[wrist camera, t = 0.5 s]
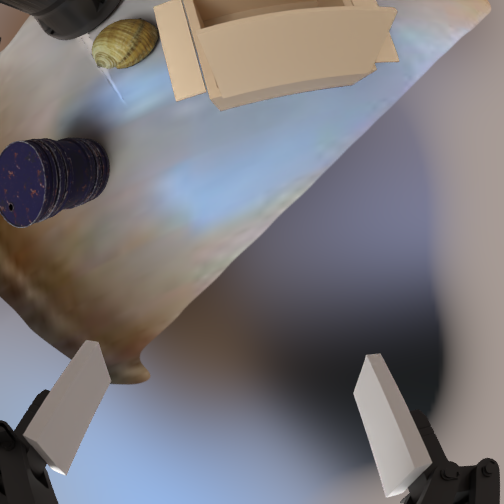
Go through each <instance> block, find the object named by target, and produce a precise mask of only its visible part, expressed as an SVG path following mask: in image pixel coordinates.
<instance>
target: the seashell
mask: <svg viewBox="0 0 504 504" xmlns="http://www.w3.org/2000/svg"><path fill="white" fill-rule="evenodd" d="M157 39H158V30H157V28H156V27H155V26H154V25H152V24H150V23H148V22H146V21H145V20H141V18H140V19H125V20H120V21H117V22H114V23H112V24H110V25H109V26H107V27H106V28H104V29H103V30H102V31H101V32H100V33H99V35H98V36H97V37H96V39H95V41H94V43H93V46H92V55H93V58H94V59H95V61H96V63H97V66H99V67H103V68H106V69H110V68H113V67H116V68H118V69H122V68H128V67H130V66H133V65H135V64H136V63H139V62H140V61H141V60H142V59H144V58H145V57H146V56H148V55H149V53H150V52H151V51H152V49H153V48H154V46H155V44H156V42H157Z"/></svg>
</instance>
